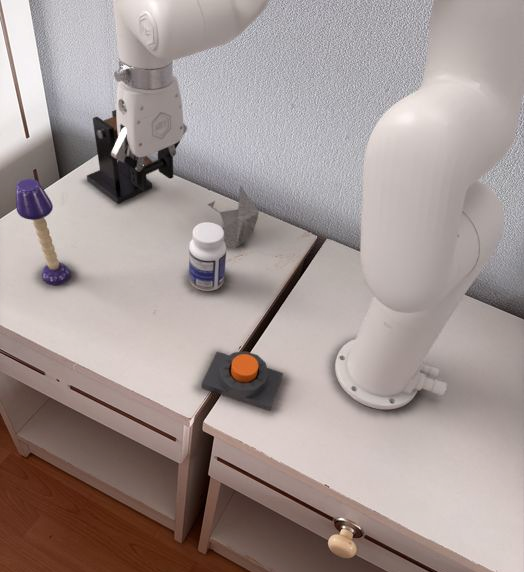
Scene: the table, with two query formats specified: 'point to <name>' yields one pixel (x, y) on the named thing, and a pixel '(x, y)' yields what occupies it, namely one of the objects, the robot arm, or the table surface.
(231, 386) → the button box
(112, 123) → the lever
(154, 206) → the table surface
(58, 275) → the toy lamp
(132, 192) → the bracket
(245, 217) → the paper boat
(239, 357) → the button
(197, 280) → the pill bottle
